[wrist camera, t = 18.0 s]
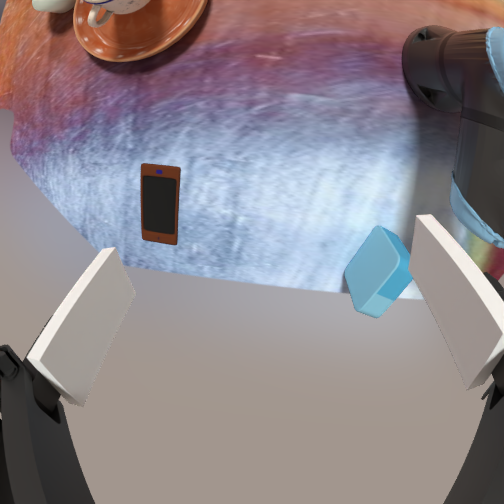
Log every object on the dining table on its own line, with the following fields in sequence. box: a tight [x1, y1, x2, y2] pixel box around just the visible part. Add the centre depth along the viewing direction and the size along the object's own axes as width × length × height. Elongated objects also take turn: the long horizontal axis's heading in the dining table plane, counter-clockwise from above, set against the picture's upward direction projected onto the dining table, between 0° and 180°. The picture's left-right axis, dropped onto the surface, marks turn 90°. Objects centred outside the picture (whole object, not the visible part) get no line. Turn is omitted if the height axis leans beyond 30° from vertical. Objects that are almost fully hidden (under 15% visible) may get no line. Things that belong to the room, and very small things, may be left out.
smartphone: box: [141, 163, 181, 245], centre depth 49 cm, size 7×1×15 cm
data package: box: [345, 226, 413, 318], centre depth 47 cm, size 12×4×12 cm, turn 156°
